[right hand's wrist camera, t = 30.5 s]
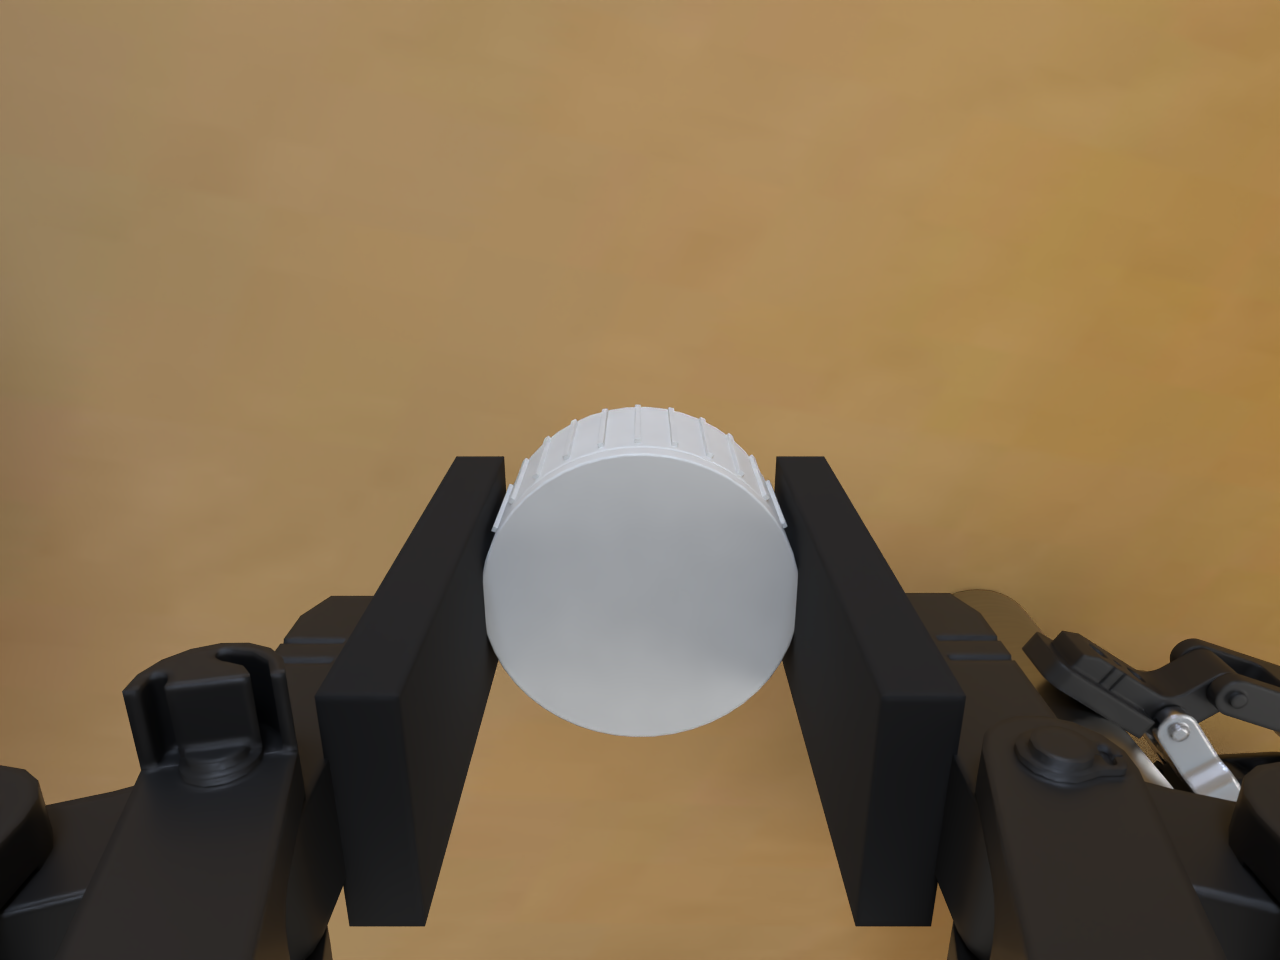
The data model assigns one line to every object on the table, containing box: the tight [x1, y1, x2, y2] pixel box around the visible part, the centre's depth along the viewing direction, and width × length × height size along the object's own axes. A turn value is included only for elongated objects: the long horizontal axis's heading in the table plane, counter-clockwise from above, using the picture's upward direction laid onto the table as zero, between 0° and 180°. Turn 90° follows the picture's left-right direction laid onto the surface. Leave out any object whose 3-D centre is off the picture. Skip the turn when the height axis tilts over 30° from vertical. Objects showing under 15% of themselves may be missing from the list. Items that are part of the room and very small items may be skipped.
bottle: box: [952, 590, 1174, 789], centre depth 24 cm, size 5×5×23 cm
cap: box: [483, 405, 798, 737], centre depth 13 cm, size 4×4×2 cm
